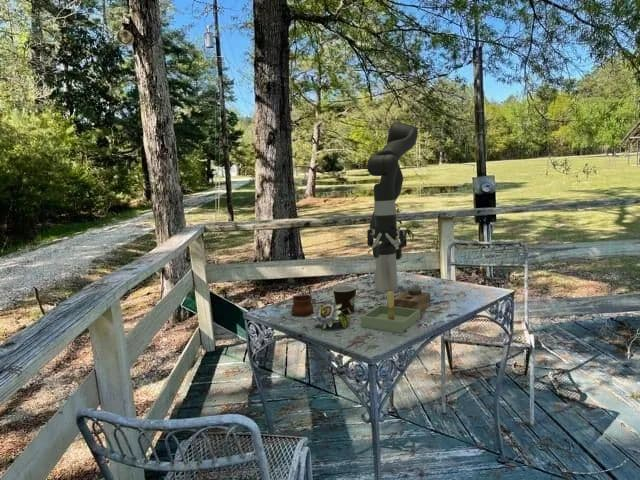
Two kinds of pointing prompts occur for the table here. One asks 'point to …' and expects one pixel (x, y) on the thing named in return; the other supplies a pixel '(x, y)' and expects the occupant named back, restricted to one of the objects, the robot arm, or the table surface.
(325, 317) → the passion flower
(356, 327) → the table surface
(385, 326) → the pin tray
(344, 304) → the coffee mug
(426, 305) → the block
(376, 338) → the table surface
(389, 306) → the pin
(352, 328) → the table surface
